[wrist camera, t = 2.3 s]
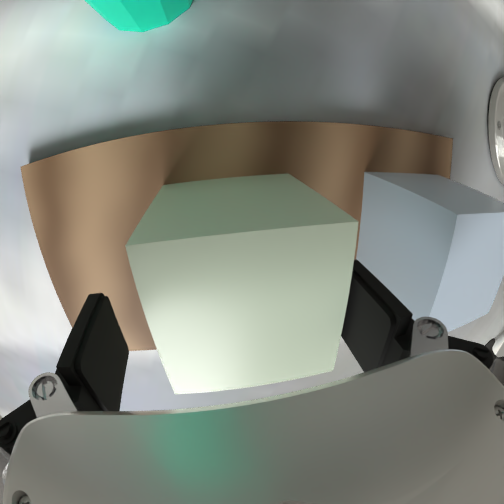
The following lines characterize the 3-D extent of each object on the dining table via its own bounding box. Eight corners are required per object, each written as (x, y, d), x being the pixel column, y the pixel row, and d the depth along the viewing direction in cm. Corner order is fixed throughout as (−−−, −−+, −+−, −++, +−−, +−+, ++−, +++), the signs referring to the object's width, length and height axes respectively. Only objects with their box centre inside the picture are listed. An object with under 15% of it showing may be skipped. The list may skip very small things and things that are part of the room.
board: (444, 136, 16) (457, 139, 15) (416, 297, 23) (425, 306, 22) (28, 163, 13) (16, 168, 12) (87, 343, 20) (83, 355, 18)
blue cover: (438, 174, 17) (521, 211, 10) (424, 258, 20) (488, 312, 13) (364, 172, 16) (457, 214, 9) (354, 269, 19) (417, 344, 12)
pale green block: (288, 173, 15) (358, 221, 8) (288, 279, 18) (332, 370, 11) (163, 185, 14) (125, 246, 7) (181, 292, 18) (175, 394, 11)
